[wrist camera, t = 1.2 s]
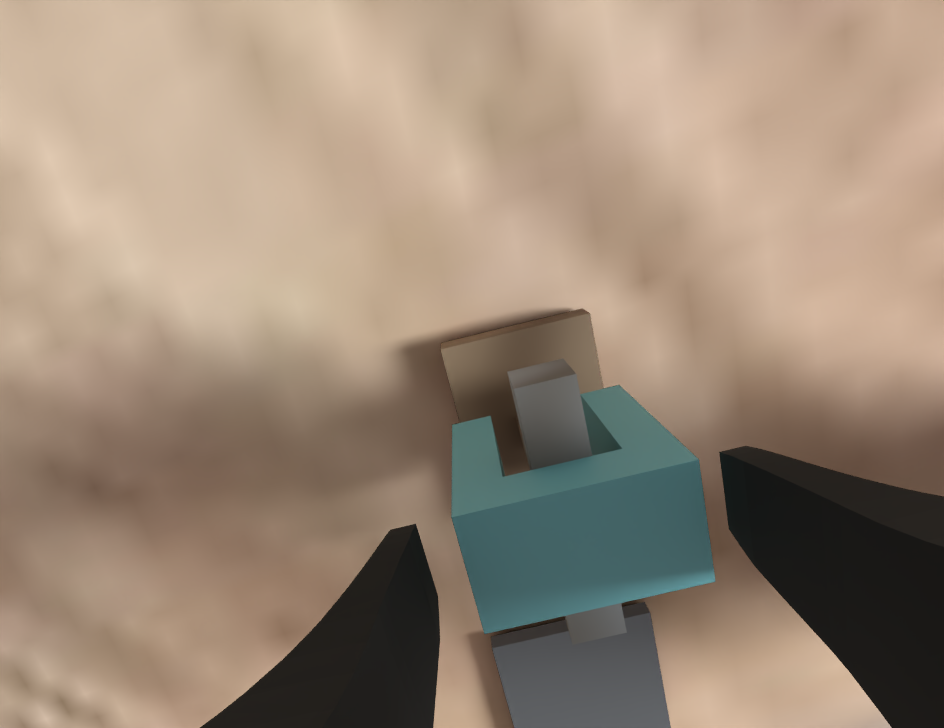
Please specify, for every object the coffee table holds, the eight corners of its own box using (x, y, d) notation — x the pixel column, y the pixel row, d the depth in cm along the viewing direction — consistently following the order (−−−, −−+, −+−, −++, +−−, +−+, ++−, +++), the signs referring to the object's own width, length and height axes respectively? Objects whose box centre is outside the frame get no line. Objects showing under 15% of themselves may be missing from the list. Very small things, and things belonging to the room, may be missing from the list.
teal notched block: (619, 385, 15) (699, 459, 10) (634, 472, 16) (715, 581, 11) (452, 424, 16) (451, 517, 11) (475, 509, 16) (484, 634, 11)
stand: (582, 308, 18) (657, 354, 11) (615, 487, 19) (696, 616, 13) (441, 342, 18) (434, 407, 11) (486, 517, 19) (503, 660, 13)
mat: (644, 601, 21) (650, 612, 20) (666, 722, 22) (672, 735, 22) (490, 636, 21) (491, 648, 20) (523, 753, 22) (525, 767, 22)
